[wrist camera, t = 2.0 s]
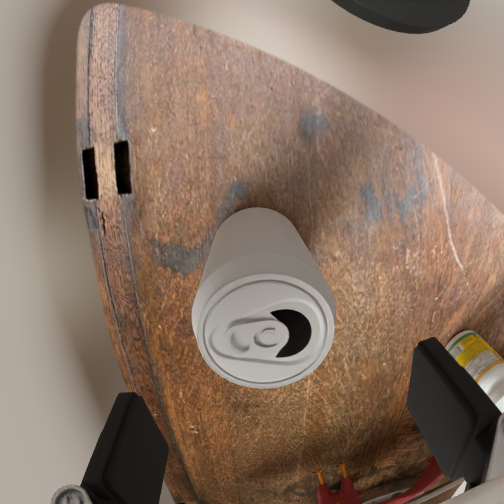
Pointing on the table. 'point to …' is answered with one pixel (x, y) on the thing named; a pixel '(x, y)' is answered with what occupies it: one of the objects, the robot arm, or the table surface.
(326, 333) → the beverage can
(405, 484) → the light fixture
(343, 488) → the decorative bird sculpture
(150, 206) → the table surface
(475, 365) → the supplement bottle
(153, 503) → the robot arm
